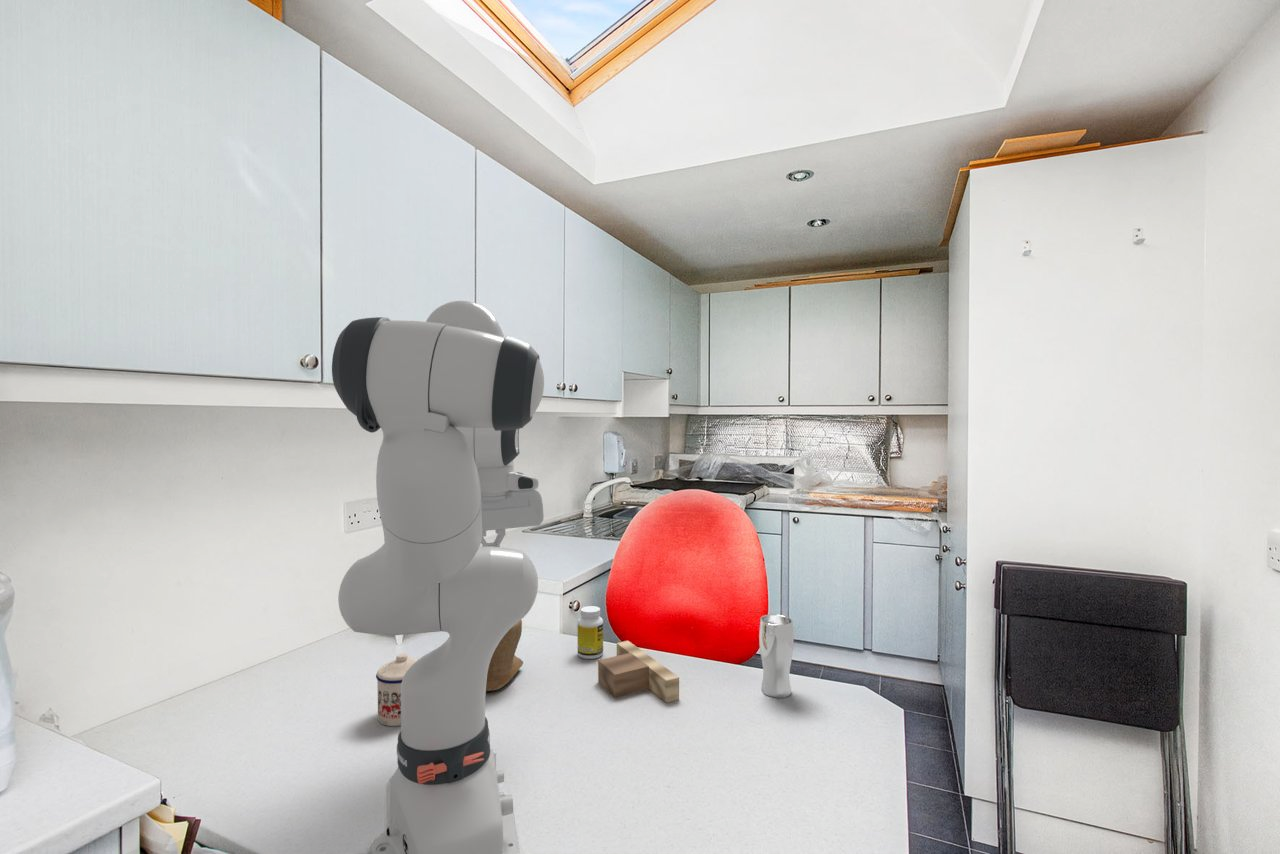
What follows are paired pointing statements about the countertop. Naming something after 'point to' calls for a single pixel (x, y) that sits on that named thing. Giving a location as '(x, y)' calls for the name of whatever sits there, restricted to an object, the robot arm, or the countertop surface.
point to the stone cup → (504, 659)
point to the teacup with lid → (391, 689)
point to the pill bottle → (590, 633)
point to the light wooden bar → (654, 673)
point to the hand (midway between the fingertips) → (491, 553)
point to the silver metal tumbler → (776, 654)
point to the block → (623, 675)
